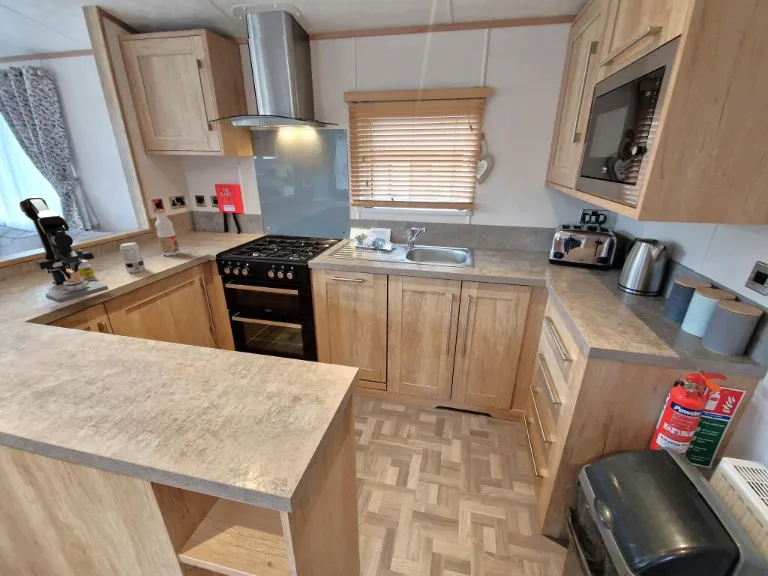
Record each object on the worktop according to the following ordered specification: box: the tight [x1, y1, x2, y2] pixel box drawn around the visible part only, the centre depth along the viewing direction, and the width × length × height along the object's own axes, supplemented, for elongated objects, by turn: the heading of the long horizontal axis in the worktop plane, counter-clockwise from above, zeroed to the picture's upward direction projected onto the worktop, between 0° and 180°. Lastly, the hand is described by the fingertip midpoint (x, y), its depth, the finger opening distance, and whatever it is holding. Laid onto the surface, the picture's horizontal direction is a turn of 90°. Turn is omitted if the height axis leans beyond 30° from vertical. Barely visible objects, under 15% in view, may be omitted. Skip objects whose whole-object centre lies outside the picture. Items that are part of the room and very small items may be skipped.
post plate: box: [44, 280, 109, 303], centre depth 153 cm, size 14×18×4 cm
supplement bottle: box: [78, 259, 96, 282], centre depth 169 cm, size 5×5×10 cm
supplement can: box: [119, 242, 146, 274], centre depth 180 cm, size 8×8×15 cm
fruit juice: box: [154, 209, 180, 257], centre depth 209 cm, size 9×9×28 cm
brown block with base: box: [61, 268, 89, 292], centre depth 152 cm, size 9×10×8 cm
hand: (72, 278), depth 151 cm, fingers closed on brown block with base, 2 cm apart
